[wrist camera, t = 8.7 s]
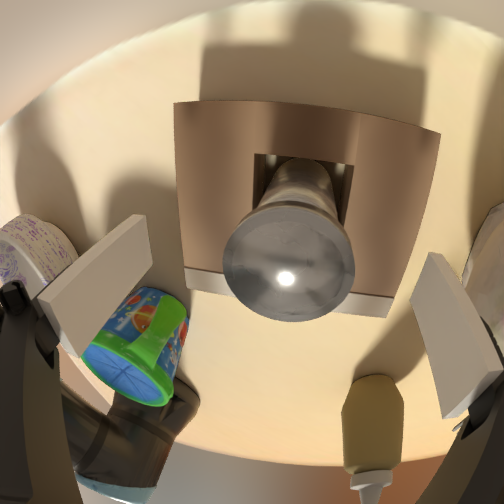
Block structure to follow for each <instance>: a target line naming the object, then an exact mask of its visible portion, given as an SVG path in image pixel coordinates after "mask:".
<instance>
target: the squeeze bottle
mask: <svg viewBox="0 0 504 504" xmlns="http://www.w3.org/2000/svg"><path fill="white" fill-rule="evenodd" d="M341 416H342V432H343V456H344V470H346V471H347V472H348V473H350V474H353V476H352V477H351V484H350V488H351V489H354V490H359V493H360V499H361V504H378V501H379V498H380V495H381V492H382V488H383V487H385V486H388V485H390V484H392V473H393V472H392V471H391V470H392V469H394V468H395V467H396V466H397V465H398V464H399V463H400V462H401V453H402V440H403V421H404V402H403V398H402V396H401V394H400V392H399V390H398V389H397V387H396V385H395V383H394V381H393V379H392V378H390V377H389V376H385V375H370V376H366V377H363V378H361V379H359V380H356V381H355V382H354V383H353V384H352V385H351V387H350V390H349V393H348V395H347V398H346V400H345V403H344V405H343V408H342V412H341Z"/></svg>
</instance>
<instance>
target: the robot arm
mask: <svg viewBox="0 0 504 504" xmlns="http://www.w3.org/2000/svg"><path fill="white" fill-rule="evenodd" d="M152 265H153V259H152V254H151V248H150V241H149V235H148V228H147V221H146V215H136V214H132V215H131V216H130V217H129V218H127V219H126V220H125V221H123V222H122V223H121V224H119V225H118V226H117V227H116V228H114V229H113V230H112V231H111V232H109V233H108V234H107V235H106V236H104V237H103V238H102V239H101V240H100V241H98V242H97V243H96V244H95V245H93V246H92V247H91V248H90V249H89V250H88V251H86V252H85V253H84V254H83V255H82V256H81V257H79V258H78V259H77V260H76V261H75V262H74V263H72V264H70V265H68V266H67V267H66V268H65V269H63V270H62V271H61V272H60V274H58V275H57V276H56V277H55V278H54V280H52V281H50V282H49V283H48V284H47V285H46V286H45V287H44V288H43V289H42V290H41V291H40V292H39V293H38V294H37V295H36V296H35V297H34V298H33V299H32V300H31V299H30V297H29V295H28V293H27V291H26V288H25V286H24V284H23V282H22V281H21V280H12V281H10V282H8V283H6V284H5V285H3V286H2V287H1V288H0V303H1V304H0V504H83V501H82V498H81V494H80V491H79V488H78V484H77V481H78V482H79V483H81V484H82V485H84V486H86V487H87V488H89V489H91V490H94V491H96V492H98V493H100V494H102V495H104V496H107V497H109V498H112V499H115V500H118V501H121V502H124V503H128V504H145V503H147V502H148V501H149V499H150V497H151V495H152V493H153V492H154V490H155V489H156V487H157V482H158V480H159V477H160V474H161V472H162V470H163V467H164V465H165V462H166V460H167V457H168V455H169V452H170V450H171V447H172V445H173V442H174V440H175V438H176V436H177V435H178V434H179V433H180V432H181V431H182V430H183V429H184V428H185V427H186V426H187V424H188V423H189V422H190V421H191V420H192V419H193V418H194V417H195V415H196V413H197V411H198V408H199V406H200V400H199V398H198V396H197V395H196V394H195V393H194V392H193V391H192V390H191V389H190V388H189V387H188V386H187V385H186V384H184V383H183V382H181V381H180V380H178V379H177V378H175V377H174V379H173V387H174V393H173V396H172V397H171V398H170V400H169V401H168V403H167V404H166V405H164V406H150V405H145V404H142V403H139V402H136V401H134V400H132V399H129V398H127V397H126V396H124V395H122V394H120V393H118V392H117V391H115V393H114V399H113V404H112V406H111V408H110V410H109V412H108V414H107V415H105V414H103V413H102V412H101V411H99V410H98V409H96V408H95V407H94V406H93V405H91V404H90V403H88V402H87V401H86V400H85V399H84V398H82V397H81V396H80V395H79V394H77V393H76V392H75V391H74V390H73V389H71V388H70V387H69V386H68V385H67V384H65V383H64V382H63V381H62V379H61V378H60V370H59V352H58V349H57V347H56V346H57V345H58V344H59V342H60V343H61V344H62V346H63V348H64V349H65V351H66V352H67V353H69V354H71V355H73V356H75V357H77V358H80V357H81V355H82V354H83V353H84V351H85V350H86V348H87V347H88V346H89V344H90V343H91V342H92V340H93V339H94V338H95V336H96V335H97V334H98V332H99V331H100V330H101V328H102V327H103V326H104V324H105V323H106V322H107V320H108V319H109V318H110V317H111V315H112V314H113V313H114V311H115V310H116V309H117V308H118V306H119V305H120V304H121V303H122V301H123V300H124V299H125V298H126V296H127V295H128V294H129V293H130V291H131V290H132V289H133V288H134V287H135V285H136V284H137V283H138V282H139V281H140V279H141V278H142V277H143V276H144V275H145V273H146V272H147V271H148V270H149V269H150V267H151V266H152ZM410 302H411V305H412V308H413V311H414V314H415V317H416V319H417V322H418V325H419V328H420V332H421V335H422V338H423V341H424V344H425V348H426V351H427V355H428V358H429V362H430V366H431V369H432V373H433V377H434V381H435V386H436V390H437V395H438V399H439V404H440V409H441V414H442V419H448V418H455V417H458V416H460V415H461V414H462V413H463V412H464V411H465V410H466V409H467V408H468V411H469V415H468V416H467V417H466V418H465V419H464V420H462V421H461V422H460V423H459V424H458V425H457V426H455V427H454V429H453V430H452V431H453V432H454V431H456V430H457V429H458V428H459V427H461V428H460V430H459V432H458V433H457V436H456V438H455V440H454V442H453V444H452V446H451V448H450V450H449V452H448V453H447V455H446V457H445V459H444V461H443V463H442V464H441V466H440V467H439V469H438V471H437V473H436V474H435V476H434V477H433V479H432V480H431V482H430V483H429V485H428V486H427V488H426V489H425V491H424V492H423V494H422V495H421V496H420V498H419V499H418V501H417V502H416V503H415V504H504V356H503V354H502V352H501V350H500V347H499V345H497V341H496V339H495V337H493V336H494V335H493V333H492V331H491V329H490V327H489V325H488V324H487V323H486V322H485V320H484V319H483V318H482V317H480V316H479V314H478V312H477V311H476V309H475V307H474V305H473V303H472V302H471V300H470V298H469V296H468V295H467V293H466V291H465V289H464V288H463V286H462V284H461V283H460V281H459V279H458V278H457V276H456V275H455V273H454V272H453V270H452V268H451V267H450V265H449V264H448V262H447V261H446V259H445V258H444V256H443V255H442V254H438V253H432V252H429V253H428V256H427V259H426V261H425V264H424V267H423V269H422V272H421V274H420V277H419V279H418V282H417V284H416V286H415V289H414V291H413V293H412V296H411V298H410ZM1 305H2V306H3V307H2V306H1ZM74 471H76V472H75V473H74ZM76 480H77V481H76Z"/></svg>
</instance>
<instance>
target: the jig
mask: <svg viewBox="0 0 504 504" xmlns="http://www.w3.org/2000/svg"><path fill="white" fill-rule="evenodd" d="M440 138H441V134H440V133H437V132H434V131H431V130H428V129H425V128H422V127H418V126H415V125H411V124H407V123H404V122H400V121H396V120H392V119H388V118H383V117H379V116H374V115H369V114H364V113H359V112H354V111H348V110H342V109H336V108H329V107H321V106H314V105H305V104H295V103H283V102H268V101H238V100H219V101H192V102H178V103H174V143H175V165H176V182H177V196H178V209H179V220H180V231H181V240H182V250H183V258H184V272H185V279H186V287H187V288H189V289H194V290H199V291H204V292H209V293H215V294H220V295H226V296H231V297H236V296H235V295H234V294H233V292H232V291H231V289H230V288H229V286H228V284H227V282H226V279H225V276H224V272H223V265H222V262H223V253H224V249H225V246H226V244H227V242H228V240H229V238H230V237H231V235H232V233H233V231H234V230H235V228H236V226H237V225H238V224H239V222H240V221H241V220H242V219H243V218H244V217H245V216H246V215H247V214H248V213H250V212H251V211H252V210H254V209H256V208H257V207H258V205H259V203H260V201H261V199H262V197H263V185H264V166H265V154H270V155H280V156H290V157H298V158H307V159H314V160H322V161H329V162H335V163H342V164H345V170H344V177H343V183H342V190H341V196H340V202H339V208H338V214H337V216H338V222H339V223H340V224H341V225H342V226H343V228H344V230H345V231H346V233H347V235H348V237H349V239H350V242H351V246H352V250H353V255H354V261H355V278H354V283H353V285H352V288H351V290H350V292H349V294H348V295H347V297H346V298H345V299H344V301H343V302H342V303H341V304H340V305H339V306H338V307H336V308H335V309H334V310H332V311H331V312H336V313H345V314H353V315H361V316H370V317H380V318H386V317H387V315H388V312H389V310H390V308H391V306H392V303H393V301H394V297H395V295H396V292H397V290H398V288H399V285H400V283H401V280H402V277H403V275H404V272H405V270H406V267H407V264H408V261H409V259H410V256H411V253H412V250H413V247H414V244H415V241H416V238H417V235H418V232H419V229H420V225H421V222H422V218H423V215H424V211H425V208H426V204H427V200H428V196H429V192H430V188H431V184H432V180H433V175H434V171H435V166H436V161H437V155H438V150H439V144H440Z"/></svg>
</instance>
